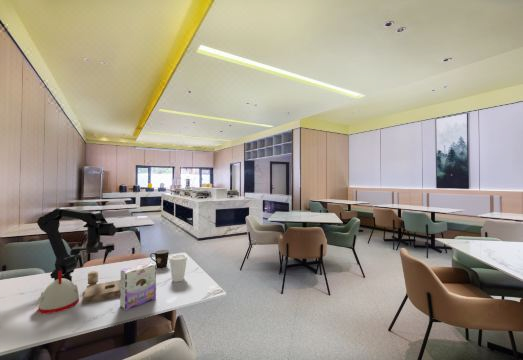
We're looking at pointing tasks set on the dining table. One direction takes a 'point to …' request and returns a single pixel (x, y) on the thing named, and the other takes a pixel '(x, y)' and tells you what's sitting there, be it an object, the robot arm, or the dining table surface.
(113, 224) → the robot arm
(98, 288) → the board
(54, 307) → the kitchen timer
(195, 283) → the dining table surface
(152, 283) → the candy box
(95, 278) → the peg
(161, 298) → the dining table surface
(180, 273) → the foam cup
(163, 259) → the coffee mug
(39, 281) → the dining table surface
